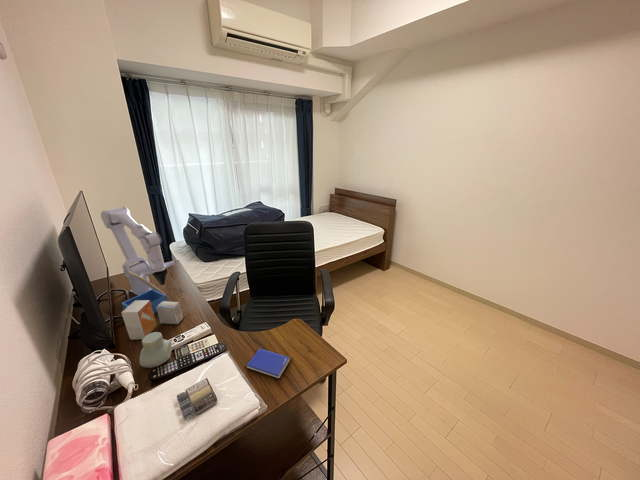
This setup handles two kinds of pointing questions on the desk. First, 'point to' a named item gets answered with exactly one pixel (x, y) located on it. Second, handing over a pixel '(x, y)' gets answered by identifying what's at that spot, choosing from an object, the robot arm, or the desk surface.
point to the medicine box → (169, 312)
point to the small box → (139, 319)
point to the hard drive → (268, 363)
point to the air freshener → (154, 350)
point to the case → (150, 295)
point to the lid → (147, 283)
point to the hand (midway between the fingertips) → (162, 284)
